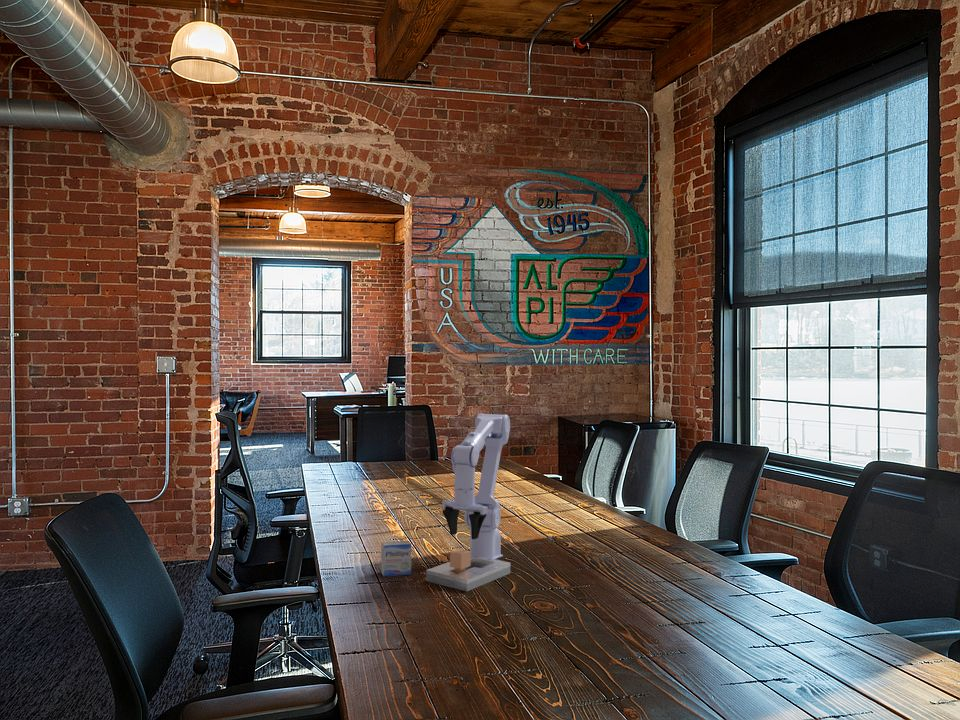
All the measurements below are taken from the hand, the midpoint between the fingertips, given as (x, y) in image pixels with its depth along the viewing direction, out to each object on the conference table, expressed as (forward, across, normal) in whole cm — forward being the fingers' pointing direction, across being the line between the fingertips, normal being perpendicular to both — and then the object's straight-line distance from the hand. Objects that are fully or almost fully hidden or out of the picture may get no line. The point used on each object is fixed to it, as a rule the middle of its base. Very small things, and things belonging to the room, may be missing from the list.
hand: (464, 536), depth 211 cm
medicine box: (+11, -14, -12) cm, 22 cm away
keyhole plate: (+10, +4, -2) cm, 11 cm away
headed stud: (+10, +4, -6) cm, 13 cm away
